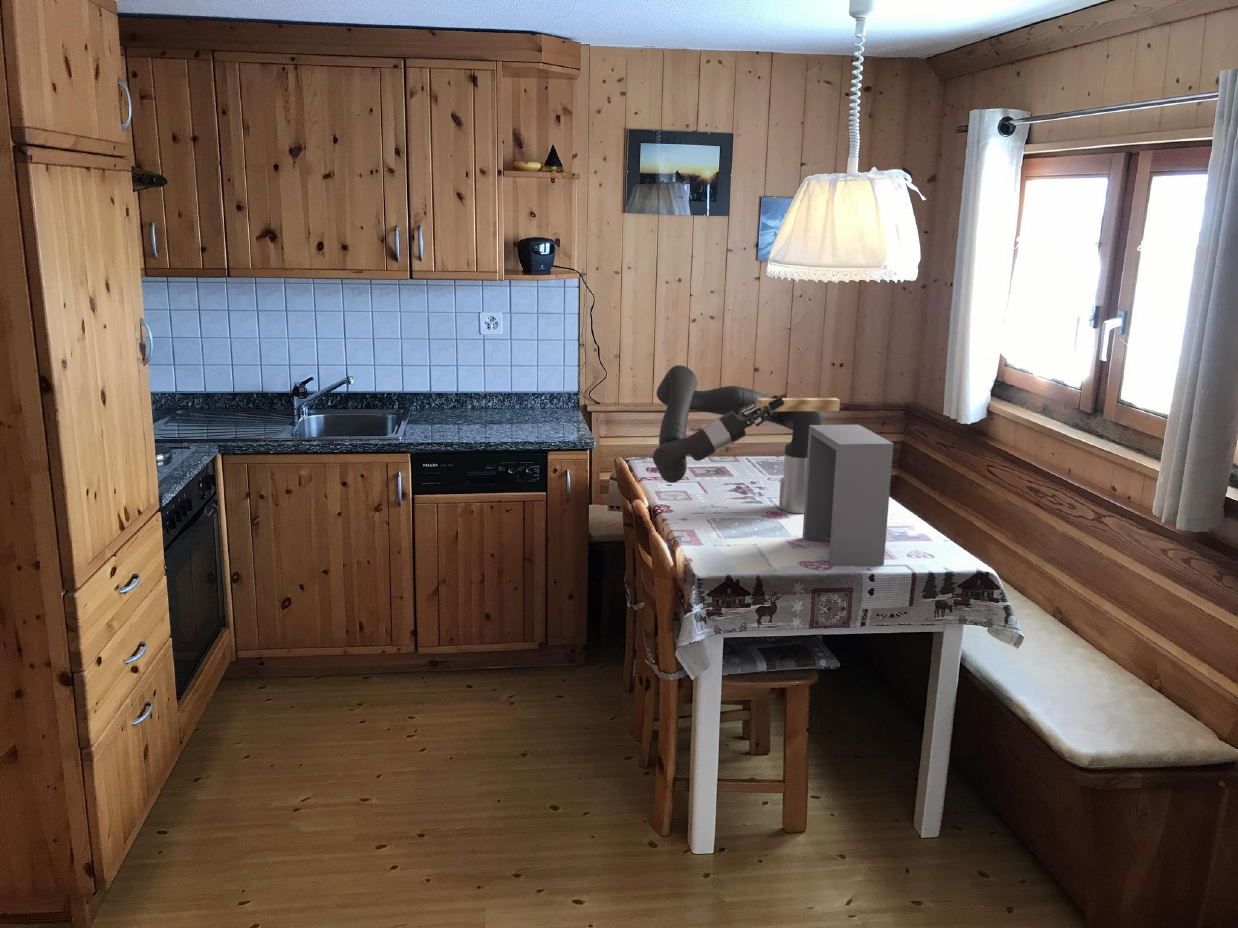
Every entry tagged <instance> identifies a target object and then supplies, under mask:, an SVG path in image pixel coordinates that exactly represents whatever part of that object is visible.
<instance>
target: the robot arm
mask: <svg viewBox="0 0 1238 928" xmlns="http://www.w3.org/2000/svg"><path fill="white" fill-rule="evenodd" d="M697 385H698V379H697V376H696V374H695V373H694V371H693V370H692V369H690V368H689V367H688V366H685V365H682V364H681V365H679V364H678V365H674V366H673V367H671V368H670V369H669V370H668V371H667V372H666V374H665V376H664V377H663V379H662V380H661V382H660V384H659V385H658V387H657V388H656V397H657V398H658V400H659V401H660V403H662V404H663V405H666V406H667V407H666V409H665V411H664V414H663V417H662V421H661V424H660V430H659V437H658V445H659V446H658V447H656V449H655V450H654V451H653V453H652V461H653V463H654V465H655V467H656V469H657V471H658V473H659V475H660V477H661V478H662V480H664V481H665V482H667V483H670V484H674V483H675V484H676V483H677V482H679V481H681V480H682V479H683V477H684V476H685V475H686V472H687V468H688V467H687V465H688V464H687V463H688V462H687V456H690V457H691V458H692V459H693V460H694V461H696V462H699V461H702V460H705V459H706V458H708V457H710V456H711V455H713V454H715V453H716V452H718V451H722V450H723V449H725V448H727V447H729V446H730V445H732V444H734V443H736V442H737V441H739V440H741V439H742V438H744V437H746V435H747V434H746V429H747V428H749V427H750V428H751V427H754V426H756V427H760V426H761V425H762V424H763V423H764V422H770V423H773V424H776V425H779V426H781V427H784V428H785V429H786V428H787V429H788V430H791V431H792V436H791V441H790V442H789V443H786V445H785V446H784V458H783V463H784V464H783V476H782V477H781V478H780V480H779V481H780V483H779V485H780V487H779V500H778V501H779V503H778V504H779V505H778V509H781V510H783V511H785V512H787V513H793V514H804V505H805V488H806V471H807V454H808V437H809V425H822V416H821V415H822V414H821V411H774V410H775V409H777V408H779V407H780V406H782V405H784V402H783V400H782V398H783V397H780V396H779V397H778V395H776V394H774V395H772V396H769V395H766V394H764V393H762V392H761V391H760V392H759V391H756V390H753V389H751V388H750V389H749V388H745V387H742V386H737V385H727V386H721V387H717V388H712V389H708V390H697V389H696V388H697ZM756 398H777V399H775V400H773V401H772V402H770V403H768V404H766V405H764V406H762V407H756ZM690 411H697V412H704V413H711V414H715V415H721V417H719V418H717V419H715V420H714V421H711V422H710V423H708V424H707V425H705V427H703V428H702V429H700V430H698V431H696V432H695V433H693V434H691V435H690V436H687V427H688V425H687V424H688V419H689V414H690V413H689V412H690Z"/></svg>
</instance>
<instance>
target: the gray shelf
mask: <svg viewBox="0 0 1238 928" xmlns="http://www.w3.org/2000/svg"><path fill="white" fill-rule="evenodd" d="M893 453H894V443H893V442H892V441H889V440H887V438H884V437H883V436H880V435H879V434H877V433H875V432H873V431H871V430H870V429H868V428H866V427H865V426H863V425H860V424H821V425H809V437H808V454H807V471H806V488H805V505H804V513H803V523H802V524H803V525H802V539H803V538H804V539H803V540H805V541H813V540H816V541H817V540H830V544H829V555H828V558H829V559H828V564H830V566H829V567H851V566H853V567H856V566H860V567H861V566H884V565H885V554H886V553H885V552H886V543H887V542H886V540H887V529H888V518H889V517H888V516H889V505H890V503H889V502H890V492H891V478H892V468H893V467H892V465H893V455H894V454H893Z"/></svg>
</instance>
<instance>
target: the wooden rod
mask: <svg viewBox="0 0 1238 928" xmlns="http://www.w3.org/2000/svg"><path fill="white" fill-rule="evenodd" d="M781 398H782V400H783V402H784V405H782V406H780V407H779V408H777V409H775V410H774V411H820V412H839V411H840V405H841V404H840V403H841V399H838V398H837V397H781ZM775 399H777V398H756V407H762V406H764V405H766V404H768V403H770V402H772V401H773V400H775Z"/></svg>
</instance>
